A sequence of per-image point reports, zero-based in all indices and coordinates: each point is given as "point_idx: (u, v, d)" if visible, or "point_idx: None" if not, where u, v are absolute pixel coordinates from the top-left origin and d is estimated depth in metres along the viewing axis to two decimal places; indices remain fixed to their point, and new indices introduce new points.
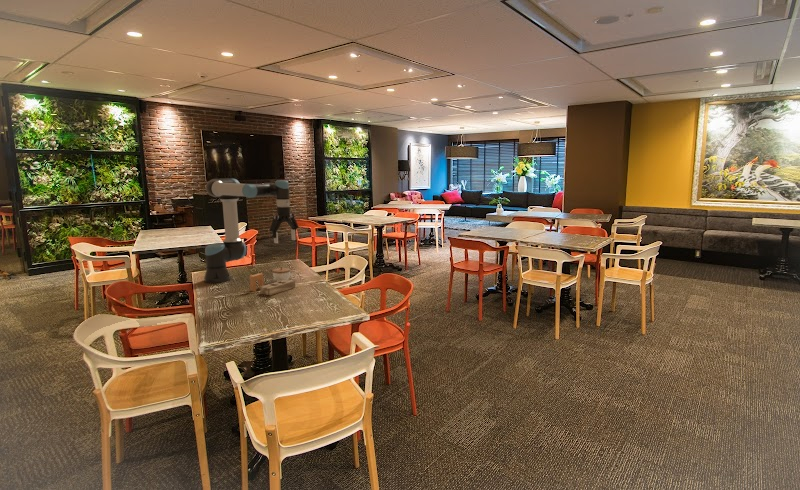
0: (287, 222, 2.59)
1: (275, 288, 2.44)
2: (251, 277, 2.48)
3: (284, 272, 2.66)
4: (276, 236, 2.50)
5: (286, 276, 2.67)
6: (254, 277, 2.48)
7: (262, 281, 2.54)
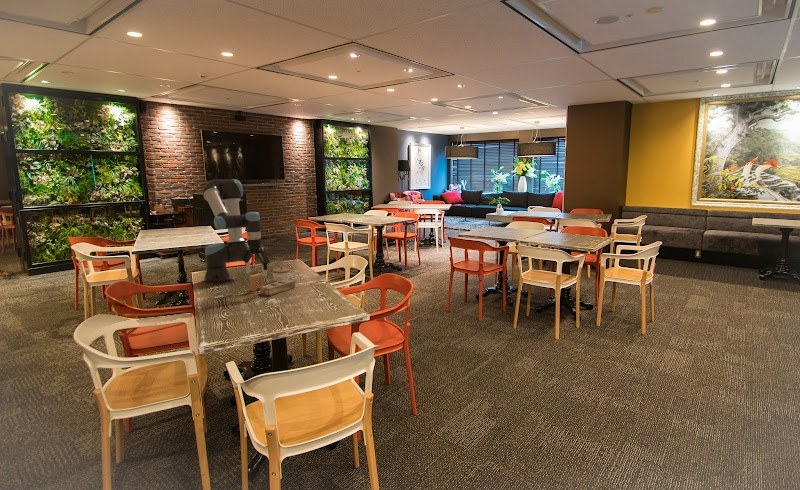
0: None
1: (275, 288, 2.44)
2: (251, 277, 2.48)
3: (284, 272, 2.66)
4: (246, 266, 2.53)
5: (286, 276, 2.67)
6: (254, 277, 2.48)
7: (262, 281, 2.54)
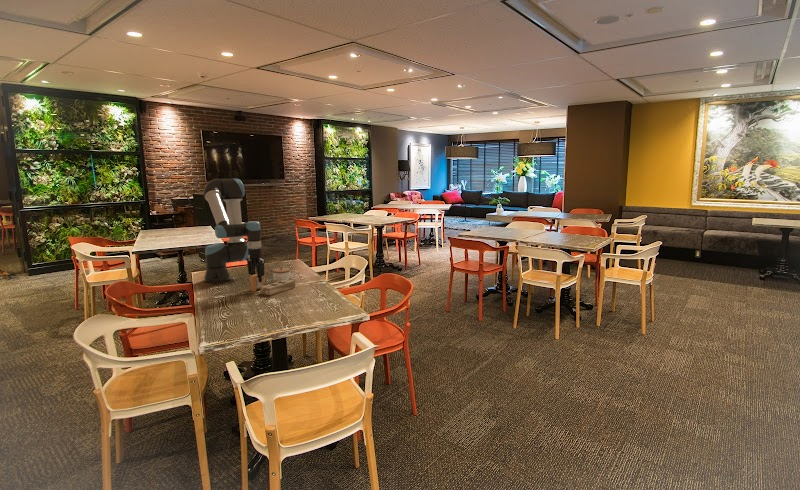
0: None
1: (275, 288, 2.44)
2: (251, 277, 2.48)
3: (284, 272, 2.66)
4: None
5: (286, 276, 2.67)
6: (254, 277, 2.48)
7: (262, 281, 2.54)
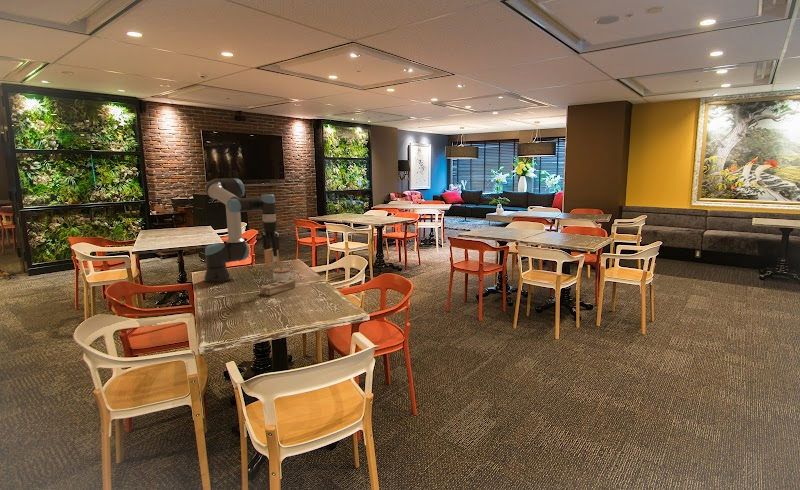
0: None
1: (275, 288, 2.44)
2: (266, 251, 2.44)
3: (284, 272, 2.66)
4: None
5: (286, 276, 2.67)
6: (269, 251, 2.44)
7: (277, 256, 2.49)
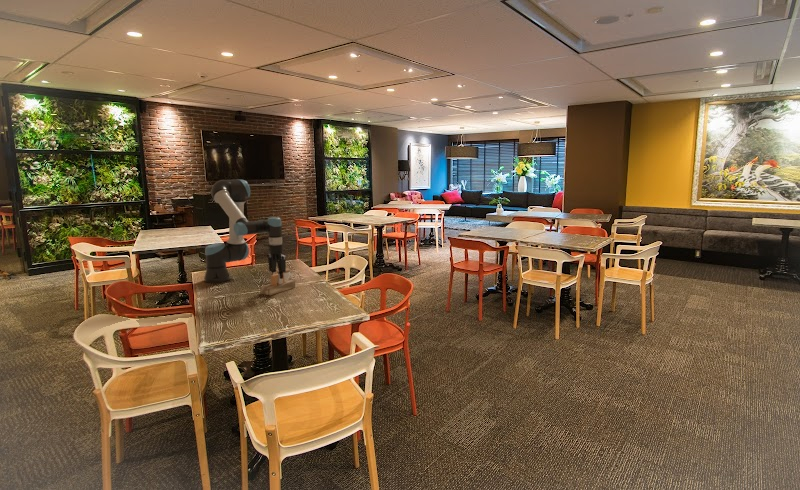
0: None
1: (275, 288, 2.44)
2: (272, 276, 2.46)
3: (284, 272, 2.66)
4: None
5: (286, 276, 2.67)
6: (275, 276, 2.46)
7: (283, 280, 2.52)
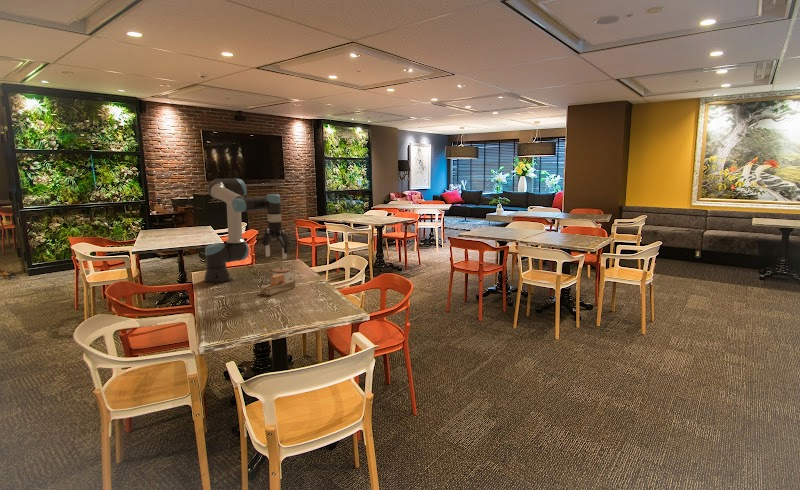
0: None
1: (275, 288, 2.44)
2: (272, 278, 2.46)
3: (284, 272, 2.66)
4: None
5: (286, 276, 2.67)
6: (275, 278, 2.46)
7: (283, 282, 2.52)
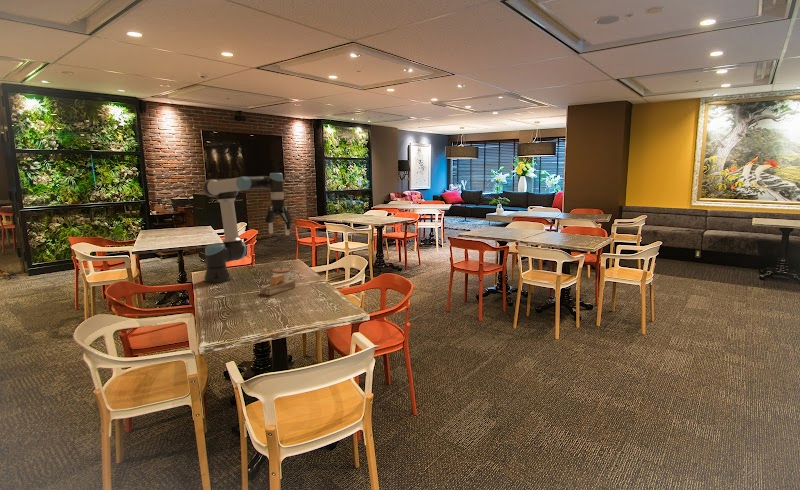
0: None
1: (275, 288, 2.44)
2: (272, 278, 2.46)
3: (284, 272, 2.66)
4: (269, 226, 2.60)
5: (286, 276, 2.67)
6: (275, 278, 2.46)
7: (283, 282, 2.52)
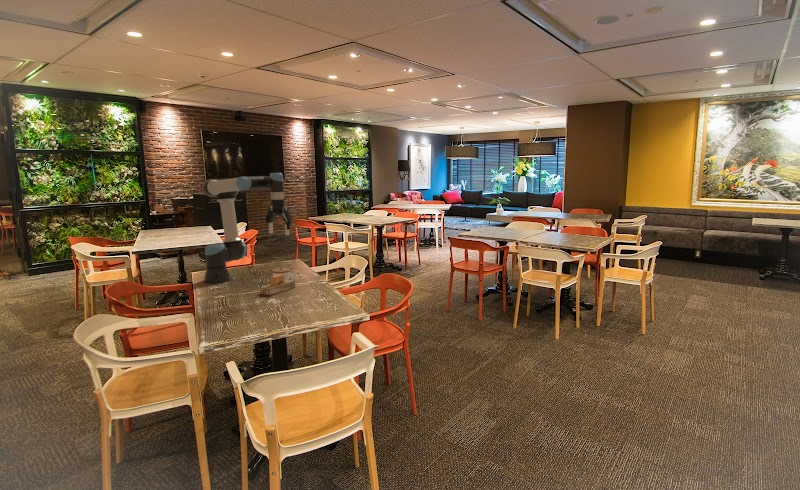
0: None
1: (275, 288, 2.44)
2: (272, 278, 2.46)
3: (284, 272, 2.66)
4: (269, 226, 2.60)
5: (286, 276, 2.67)
6: (275, 278, 2.46)
7: (283, 282, 2.52)
